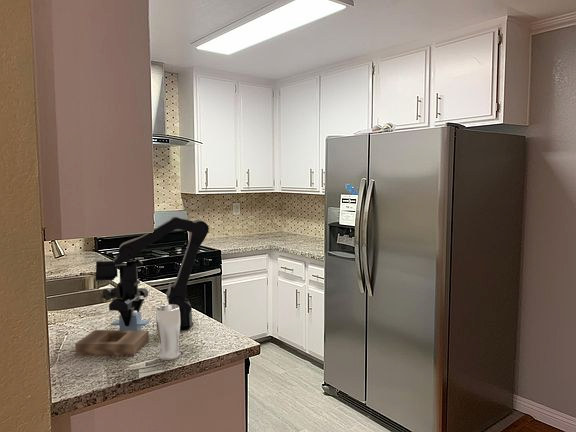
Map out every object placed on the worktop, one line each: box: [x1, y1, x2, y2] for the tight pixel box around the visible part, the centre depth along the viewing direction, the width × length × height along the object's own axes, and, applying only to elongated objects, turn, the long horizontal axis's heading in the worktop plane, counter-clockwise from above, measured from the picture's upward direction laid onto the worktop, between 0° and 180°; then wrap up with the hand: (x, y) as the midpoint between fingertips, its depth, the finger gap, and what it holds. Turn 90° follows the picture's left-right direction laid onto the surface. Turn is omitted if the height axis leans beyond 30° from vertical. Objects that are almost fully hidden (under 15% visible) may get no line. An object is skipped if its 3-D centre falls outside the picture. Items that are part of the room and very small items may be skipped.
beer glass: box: [155, 303, 181, 361], centre depth 130 cm, size 7×7×15 cm
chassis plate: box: [74, 329, 150, 357], centre depth 137 cm, size 18×12×4 cm, turn 87°
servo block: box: [110, 310, 150, 331], centre depth 150 cm, size 4×12×8 cm, turn 87°
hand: (130, 323), depth 150 cm, fingers open, 5 cm apart
